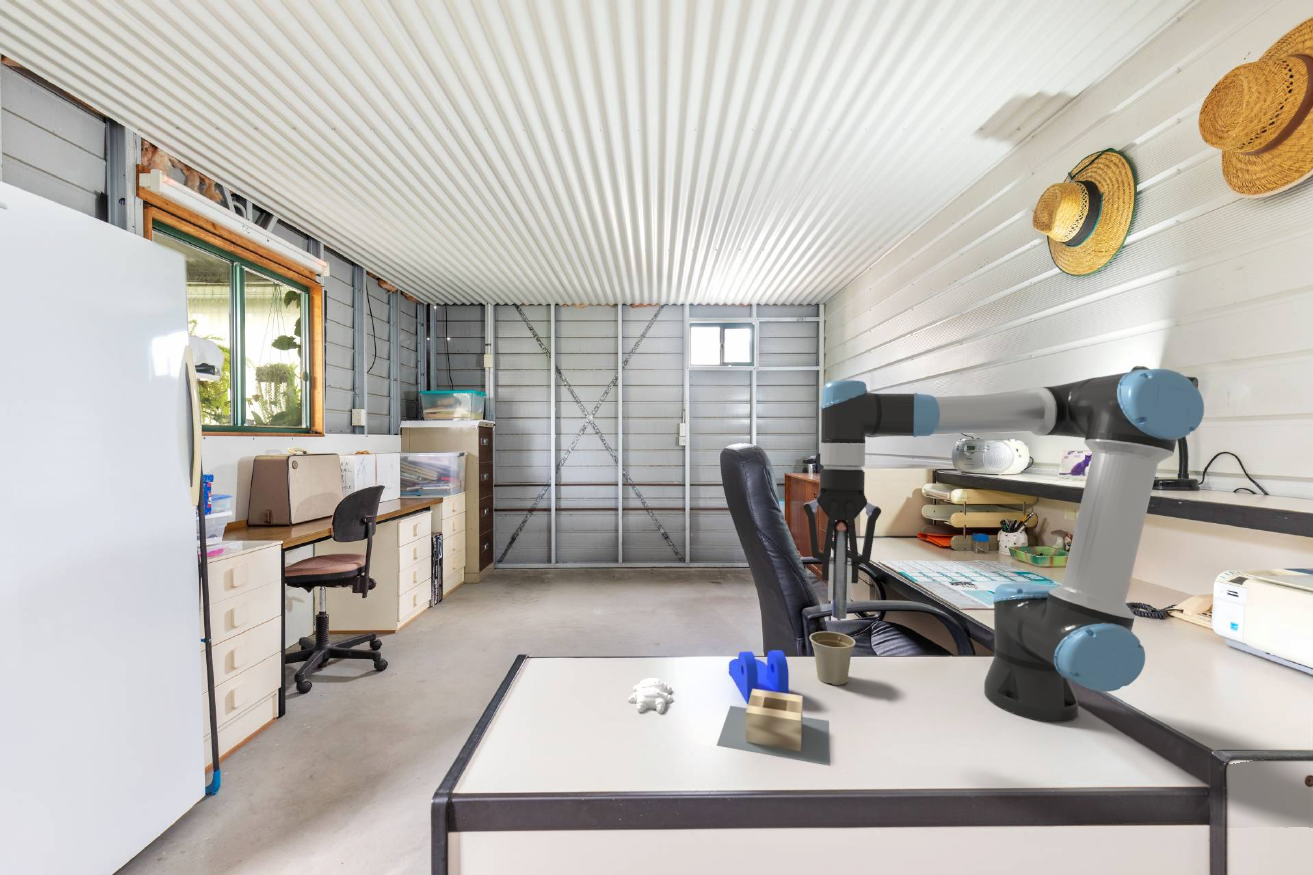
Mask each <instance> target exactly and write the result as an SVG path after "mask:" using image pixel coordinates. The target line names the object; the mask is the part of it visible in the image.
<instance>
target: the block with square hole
mask: <svg viewBox="0 0 1313 875" xmlns="http://www.w3.org/2000/svg"><path fill="white" fill-rule="evenodd" d="M803 701H804V700H803V695H799V694H791V693H789V694H786V693H779V692H772V691H765V690H758V689H752V692H751V696H750V699H749V703H748V704H747V706H746V708H747V710H746V742H750V743H756V744H761V745H767V746H773V747H779V748H784V749H790V750H796V751H801V739H802V722H803V717H804V716H803V708H804V707H803V706H804V705H803V704H804V702H803Z"/></svg>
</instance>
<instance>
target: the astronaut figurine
mask: <svg viewBox="0 0 1313 875" xmlns="http://www.w3.org/2000/svg"><path fill="white" fill-rule="evenodd" d="M672 691H673V690H672V687H671V686H670V685H667V683H666V682H665V681H663V679H660V678H655V677H649V678H644V679H643V680H641V681H640V682H639V683H638V684H636V685H634V686H633V688H632V692H633V693H632V694H631V695H630V696H629V697H628V699H627V700H628V701H627V702H628V703H629V704H632V703H633V704H635V703H636V710H637V713H644V712H645V711H646V710H647V709H651V710H652V709H653V710H654V709H655V710H656V712H657V714H661V715H663V713H664V712H665V710H666V704H672V703H673V702H674V698H673V696H672V695H671V693H672Z"/></svg>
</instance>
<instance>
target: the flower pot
mask: <svg viewBox="0 0 1313 875" xmlns="http://www.w3.org/2000/svg"><path fill="white" fill-rule="evenodd" d="M809 640H810V642H811V646H812V648H813V653H814V659H815V660H814V661H815V668H816V676H817V678H818V680H819V681H820V682H822V683H825V684H832V685H833V686H841V685H845V684H846V683H848V682H847V681H849V680H848V679H849V673H850V672H849V670H850V663H851V658H852V652H853V650H854V647H855V646H856V640H855V639H854V638H852V637H851V636H849V635H847V634H844V633H841V632H835V631H817V632H813V633H811V634H810V635H809Z"/></svg>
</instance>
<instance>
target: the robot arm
mask: <svg viewBox="0 0 1313 875" xmlns="http://www.w3.org/2000/svg"><path fill="white" fill-rule="evenodd" d="M1203 399H1204V398H1203V396H1202V394H1201V391H1200V390H1199V388H1197V387H1195V385H1194V384H1193V382H1192V381H1191V380H1190V378H1188V377H1187V376H1185V375H1183V374H1181V373H1180V372H1177V371H1174V370H1171V369H1165V368H1151V369H1144V368H1142V369H1141V368H1140V369H1135V370H1131V371H1129V372H1128V371H1127V372H1122V373H1116V374H1109V375H1104V376H1097V377H1090V378H1088V379H1082V380H1079V381H1073V382H1068V383H1065V384H1058V385H1057V384H1056V385H1053V386H1038V387H1037V386H1036V387H1034V388H1032V389H1031V390H1030V391H1029V392H1017V393H1015V392H1014V393H995V394H975V395H974V394H971V395H951V396H949V395H948V396H934V395H932V394H927V393H926V394H925V393H924V394H923V393H917V392H914V393H874V392H868V389H867V384H866V382H865V381H863V380H862V381H861V380H854V379H853V380H852V379H850V380H849V379H848V380H845V379H842V380H832V381H829V382H827V383H825V384H824V385H823V387H822V396H821V405H820V410H821V412H820V413H821V414H820V416H821V419H820V422H821V423H820V425H821V429H820V430H821V431H820V433H821V434H820V450H819V451H820V455H819V456H820V457H819V458H820V459H819V460H820V461H819V464H820V465H821V466H823V467H822V468H820V470H819V492H818V494H817V496H816V499H813V500H811V501H808V502H804V503H803V506H802V507H803V510H804V512H805V514H806V516H807V520H808V521H807V522H808V529H809V531H808V532H809V538H810V539H809V540H810V549H811V557H812V558H813V559H816V560H819V561H820V562H821V565H822V566H821V579H822V580H823V581H825V582H828V583H827V584H828V585H827V586H828V587H827V588H828V590H827V592H828V593H827V597H828V598H827V599H828V600H827V601H828V602H832V601H833V568H834V564H833V560H830V558H831V552H832V545H833V540H834V526H835V521H837V520H845V521H846V522H847V524H848V547H849V552H850V554H849V555H850V562H848V564H847V591H846V603H847V604H852V584H856V585H857V584H858V582H859V567H860V565H861V564H862V565H863V564H868V563H870V561H871V558H872V557H871V555H872V550H873V542H874V536H875V529H876V524H877V523H876V522H877V520H878V518H879V517H880V515H881V514H882V509H881V508H880V506H877V505H874V504H872V503H870V502H868V499H867V497H866V494H865V480H866V479H865V474H866V473H865V471H864V469H862V468H863V467H865V466H866V437H867V438H879V437H880V438H881V437H914V438H917V437H929V436H931V435H954V434H957V435H958V434H983V433H986V434H987V433H1010V432H1011V433H1012V432H1014V433H1015V432H1030V433H1031V434H1033V435H1035V436H1039V437H1040V436H1041V437H1042V436H1044V437H1045V436H1056V437H1057V436H1059V437H1071V438H1072V437H1073V438H1082V439H1083V438H1084V441H1083V444H1084V445H1086V446H1087V448H1088V449H1089V451H1091V454H1092V456H1091V459H1090V465H1089V468H1088V472H1087V477H1086V480H1085V485H1084V490H1083V494H1082V498H1081V501H1080V506H1079V511H1078V515H1077V518H1076V521H1075V522H1076V523H1075V526H1074V531H1073V536H1072V539H1071V540H1072V541H1071V544H1070V549H1069V552H1068V556H1067V561H1066V565H1065V568H1064V569H1065V570H1064V572H1063V577H1062V581H1061V584H1060V585H1058V586H1057V587H1055V586H1050V585H1048V586H1047V585H1041V584H1028V583H1002V584H999V585H997V586H996V587H995V589H994V595H993V596H994V597H993V605H994V606H993V607H994V608H993V610H994V611H993V612H994V614H993V618H994V622H993V623H994V628H993V629H994V630H993V631H994V635H993V636H994V657H993V659H992V662H991V664H990V666H989V670H988V672H987V675H986V677H985V679H984V685H983V686H984V688H983V689H984V693H983V694H984V695H985V698H987V699H988V700H989V702H991V703H992V704H994V705H996V706H997V707H999V708H1001V709H1003V710H1005V711H1006V712H1009V713H1012V714H1016V715H1018V716H1022V717H1024V718H1029V719H1032V720H1038V721H1045V722H1051V723H1053V722H1054V723H1065V722H1071V721H1073V720H1075V719H1077V718H1078V716H1079V702H1078V699H1077V696H1076V693H1075V690H1074V688H1073V685H1072V683H1076V685H1079V686H1081V687H1083V688H1085V689H1088V690H1090V691H1095V692H1106V693H1107V692H1114V691H1117V690H1120V689H1121V688H1123V687H1127V686H1129V685H1131V684H1132V683H1134V681H1136V679H1138V677H1139V676H1140V675H1141V673H1142V672H1143V669H1144V666H1145V663H1146V652H1145V647H1144V646H1143V645H1142V644H1141V639H1139V637H1138V636H1136V635H1135V634H1134V632H1133V626H1134V621H1135V617H1136V616H1135V614H1134V613H1133V612H1132V611H1131V609H1130V608H1129V607H1128V605H1127V603H1126V601H1127V597H1128V593H1129V588H1130V584H1131V579H1132V575H1133V572H1134V568H1135V563H1136V558H1137V556H1138V551H1139V546H1140V541H1141V537H1142V533H1143V529H1144V524H1145V520H1146V516H1147V512H1148V508H1149V503H1150V499H1151V496H1152V495H1151V494H1152V491H1153V486H1154V482H1155V478H1156V475H1157V470H1158V465H1159V464H1160V463H1161V462H1163V461H1165V460H1167V459H1168V458H1171V457H1173V456H1174V454H1175V449H1176V444H1177V441H1178V440H1180V439H1182V438H1185V437H1187V436H1189V435H1190V434H1191V432H1195V431H1196V430H1197V428H1199V426H1200V424H1201V423H1202V421H1203V419H1204V415H1205V414H1204V413H1205V403H1204V400H1203ZM818 506H819V507H820V509H821V510H822V511H823V512H824V514H825V516H826V517H827V520H826V521H827V523H826V531H825V536H824V543H823V551H820V550H819V549H820V548H819V540H818V538H819V537H818V530H817V520H816V519H817V518H816V513H817V512H818ZM864 509H865V514H866V516H867V519H866V520H867V521H866V525H865V526H866V527H865V531H864V532H865V533H864V538H863V546H862V552H861V554H859V551H858V540H857V532H856V531H857V530H856V519H857V517H858V516H859V515H860V513H862V511H863V510H864Z"/></svg>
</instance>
